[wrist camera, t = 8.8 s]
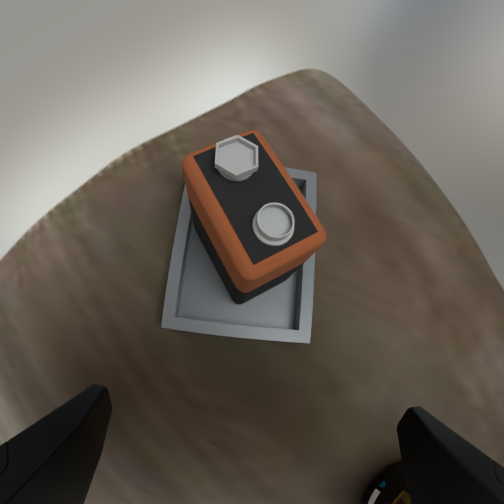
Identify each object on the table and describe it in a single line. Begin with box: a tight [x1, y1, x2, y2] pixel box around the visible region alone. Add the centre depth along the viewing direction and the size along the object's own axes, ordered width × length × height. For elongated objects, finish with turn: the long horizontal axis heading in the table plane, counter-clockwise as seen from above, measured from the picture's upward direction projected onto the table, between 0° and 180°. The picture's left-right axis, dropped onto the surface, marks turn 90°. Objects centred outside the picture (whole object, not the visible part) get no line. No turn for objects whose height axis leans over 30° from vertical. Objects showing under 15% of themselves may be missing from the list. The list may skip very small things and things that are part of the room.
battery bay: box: [161, 168, 316, 343], centre depth 22 cm, size 13×10×2 cm
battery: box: [182, 130, 326, 304], centre depth 17 cm, size 4×7×10 cm, turn 29°
